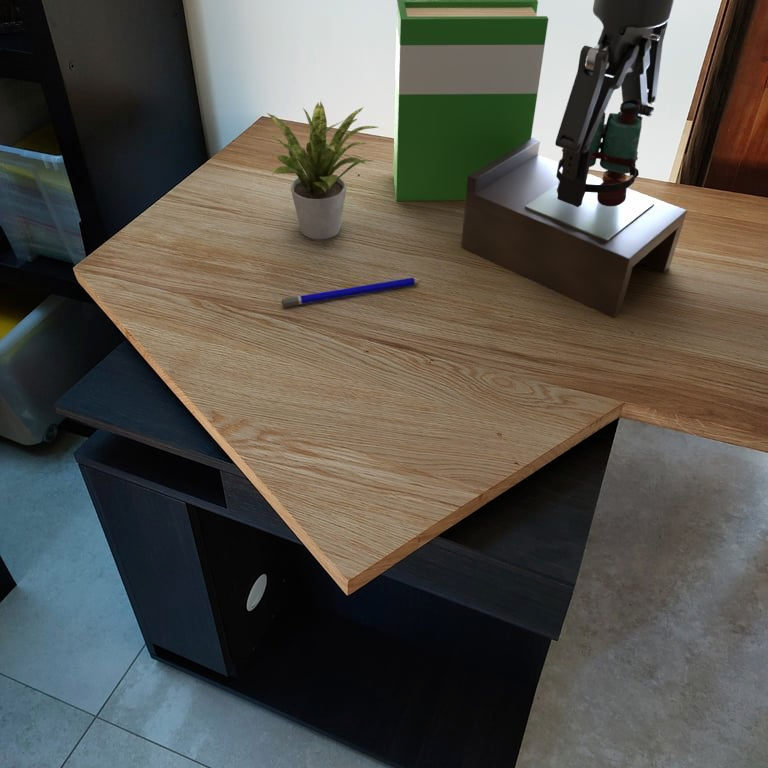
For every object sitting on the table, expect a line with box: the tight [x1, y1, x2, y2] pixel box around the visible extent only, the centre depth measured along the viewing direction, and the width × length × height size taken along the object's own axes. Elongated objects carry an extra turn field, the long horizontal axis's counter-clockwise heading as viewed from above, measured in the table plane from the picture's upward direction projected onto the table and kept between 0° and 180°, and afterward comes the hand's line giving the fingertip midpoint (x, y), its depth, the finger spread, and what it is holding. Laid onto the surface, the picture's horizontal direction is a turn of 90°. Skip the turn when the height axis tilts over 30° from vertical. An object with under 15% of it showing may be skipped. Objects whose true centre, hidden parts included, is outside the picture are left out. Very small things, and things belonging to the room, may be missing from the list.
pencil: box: [281, 277, 422, 308], centre depth 91 cm, size 17×1×1 cm, turn 107°
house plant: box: [266, 101, 379, 240], centre depth 96 cm, size 14×14×16 cm
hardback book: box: [392, 0, 549, 202], centre depth 103 cm, size 18×7×24 cm, turn 93°
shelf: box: [460, 137, 688, 319], centre depth 95 cm, size 22×14×10 cm, turn 48°
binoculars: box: [556, 99, 643, 206], centre depth 88 cm, size 9×11×10 cm
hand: (594, 184), depth 90 cm, fingers closed on binoculars, 10 cm apart
